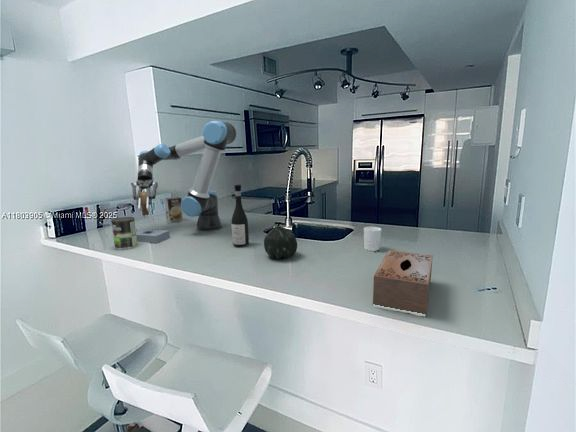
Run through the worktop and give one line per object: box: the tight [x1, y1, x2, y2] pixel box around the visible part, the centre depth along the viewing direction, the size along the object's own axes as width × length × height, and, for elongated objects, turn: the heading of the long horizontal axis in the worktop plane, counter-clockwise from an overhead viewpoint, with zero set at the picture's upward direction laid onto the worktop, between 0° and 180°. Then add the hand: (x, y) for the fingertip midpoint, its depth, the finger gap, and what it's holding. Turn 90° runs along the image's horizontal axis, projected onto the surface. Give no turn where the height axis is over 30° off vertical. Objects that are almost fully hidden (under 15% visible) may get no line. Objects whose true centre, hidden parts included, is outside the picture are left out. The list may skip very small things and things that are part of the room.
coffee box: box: [164, 197, 184, 224], centre depth 207 cm, size 9×6×16 cm
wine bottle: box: [230, 184, 250, 248], centre depth 150 cm, size 8×8×30 cm
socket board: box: [136, 228, 170, 244], centre depth 166 cm, size 18×11×4 cm, turn 76°
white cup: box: [363, 226, 382, 250], centre depth 142 cm, size 8×8×10 cm
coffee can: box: [110, 216, 138, 251], centre depth 153 cm, size 10×10×14 cm
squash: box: [263, 225, 298, 260], centre depth 135 cm, size 14×15×15 cm
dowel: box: [140, 191, 150, 216], centre depth 162 cm, size 3×3×12 cm
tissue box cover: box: [372, 249, 433, 315], centre depth 98 cm, size 26×14×10 cm, turn 153°
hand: (143, 209), depth 159 cm, fingers closed on dowel, 3 cm apart
